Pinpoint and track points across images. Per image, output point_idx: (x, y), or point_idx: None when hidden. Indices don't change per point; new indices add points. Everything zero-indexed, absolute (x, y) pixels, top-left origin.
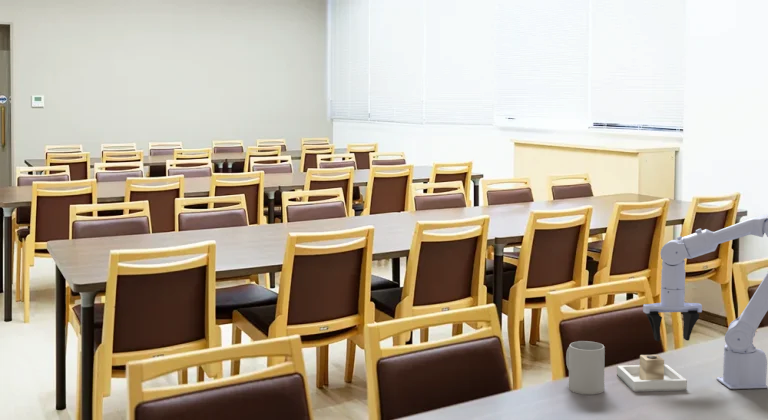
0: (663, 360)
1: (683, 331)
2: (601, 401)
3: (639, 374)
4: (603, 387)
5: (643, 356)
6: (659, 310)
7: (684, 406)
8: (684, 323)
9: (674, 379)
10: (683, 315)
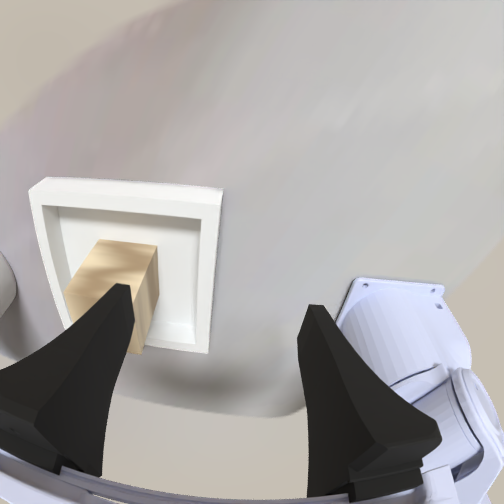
0: (139, 352)
1: (320, 332)
2: (20, 332)
3: (94, 246)
4: (11, 300)
5: (74, 309)
6: (80, 490)
7: (163, 387)
8: (333, 385)
9: (174, 342)
10: (356, 427)
